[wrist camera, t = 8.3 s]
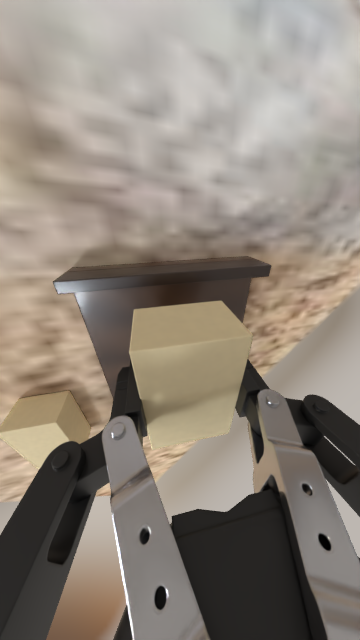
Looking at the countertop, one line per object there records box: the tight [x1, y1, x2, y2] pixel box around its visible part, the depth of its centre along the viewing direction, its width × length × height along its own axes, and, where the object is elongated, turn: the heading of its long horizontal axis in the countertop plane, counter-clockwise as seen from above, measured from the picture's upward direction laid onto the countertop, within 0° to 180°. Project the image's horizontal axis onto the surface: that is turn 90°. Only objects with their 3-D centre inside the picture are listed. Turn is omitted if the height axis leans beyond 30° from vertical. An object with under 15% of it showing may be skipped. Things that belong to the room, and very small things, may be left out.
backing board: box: [53, 256, 271, 399], centre depth 17 cm, size 18×14×3 cm
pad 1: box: [0, 391, 91, 469], centre depth 19 cm, size 8×5×4 cm, turn 1°
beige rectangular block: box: [129, 301, 253, 450], centre depth 10 cm, size 8×5×4 cm, turn 1°
